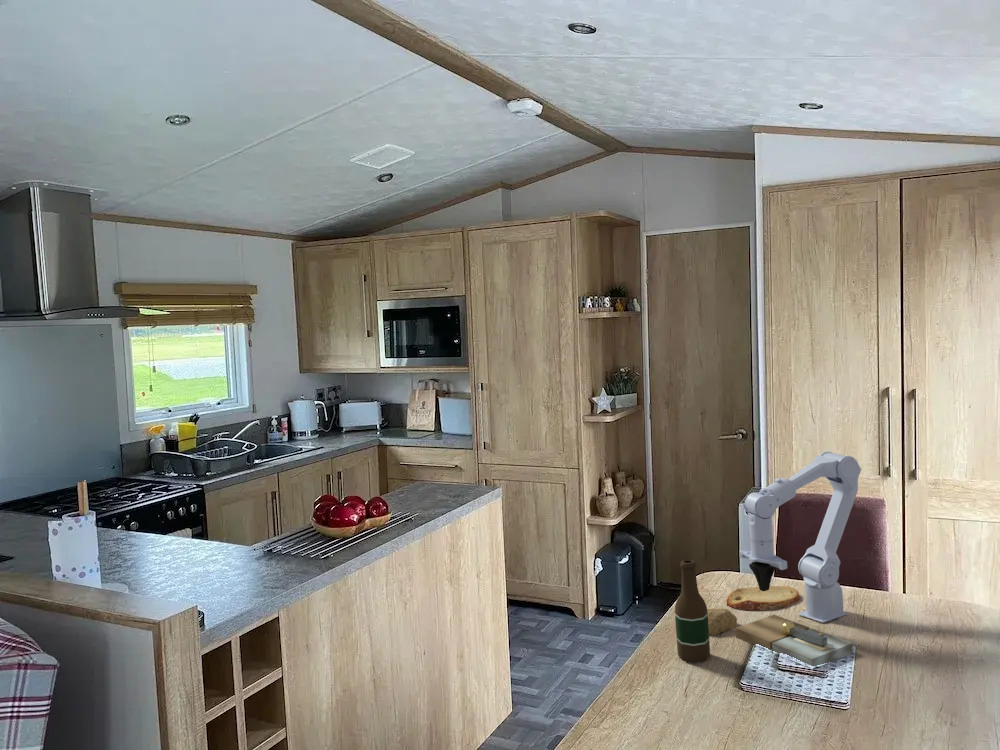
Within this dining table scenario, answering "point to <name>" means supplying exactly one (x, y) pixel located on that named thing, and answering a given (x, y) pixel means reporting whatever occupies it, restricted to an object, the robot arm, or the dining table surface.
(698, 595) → the beer bottle
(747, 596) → the slice of bread
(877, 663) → the dining table surface
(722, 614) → the stone tool
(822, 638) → the bar
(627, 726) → the dining table surface
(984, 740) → the dining table surface
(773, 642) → the door mockup
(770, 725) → the dining table surface
